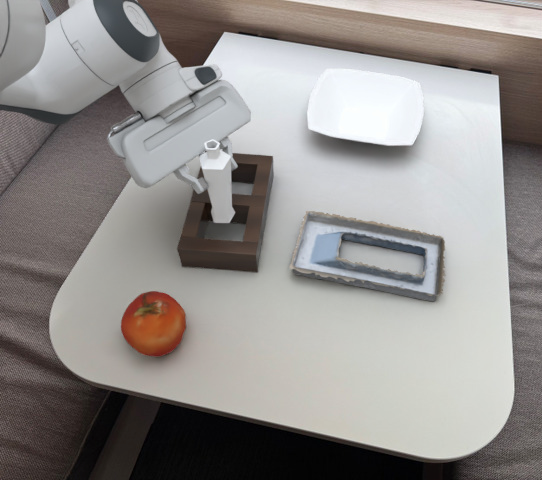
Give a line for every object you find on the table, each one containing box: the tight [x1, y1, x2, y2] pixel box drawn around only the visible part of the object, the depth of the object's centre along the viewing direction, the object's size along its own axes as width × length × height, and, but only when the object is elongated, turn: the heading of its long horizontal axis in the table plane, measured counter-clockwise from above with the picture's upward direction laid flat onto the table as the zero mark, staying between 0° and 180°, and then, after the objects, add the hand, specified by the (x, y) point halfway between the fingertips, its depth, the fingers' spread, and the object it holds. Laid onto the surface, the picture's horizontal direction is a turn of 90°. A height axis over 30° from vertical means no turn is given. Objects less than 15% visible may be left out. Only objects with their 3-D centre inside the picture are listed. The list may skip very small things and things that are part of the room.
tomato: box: [120, 290, 187, 358], centre depth 75 cm, size 9×9×8 cm
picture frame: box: [289, 210, 446, 302], centre depth 87 cm, size 13×25×3 cm, turn 80°
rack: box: [176, 151, 275, 273], centre depth 90 cm, size 22×12×5 cm, turn 176°
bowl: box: [306, 68, 425, 147], centre depth 107 cm, size 22×23×6 cm
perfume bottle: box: [198, 139, 235, 224], centre depth 78 cm, size 5×4×15 cm
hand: (218, 180), depth 77 cm, fingers closed on perfume bottle, 4 cm apart
